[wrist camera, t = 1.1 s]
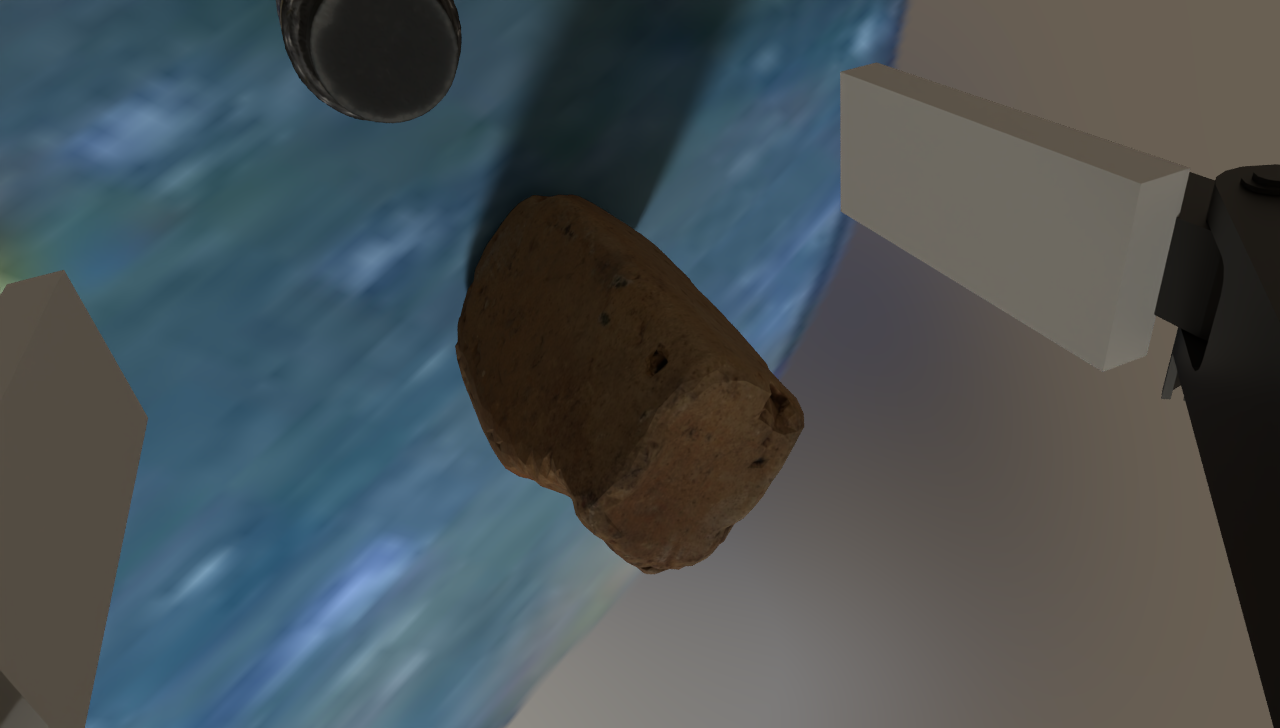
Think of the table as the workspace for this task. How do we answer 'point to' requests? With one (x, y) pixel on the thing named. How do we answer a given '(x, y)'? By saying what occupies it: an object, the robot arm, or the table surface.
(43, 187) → the table surface
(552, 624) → the table surface
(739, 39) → the table surface
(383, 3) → the pill bottle
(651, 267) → the block
